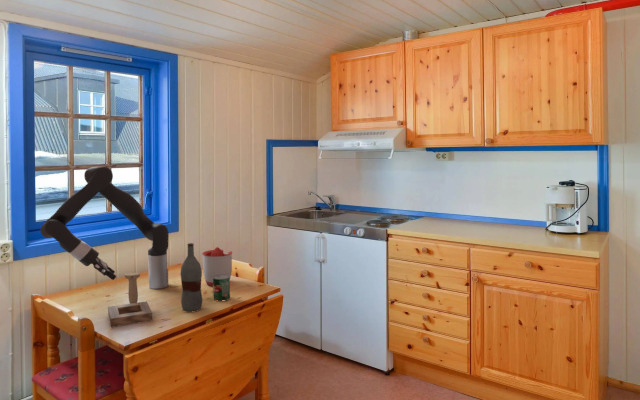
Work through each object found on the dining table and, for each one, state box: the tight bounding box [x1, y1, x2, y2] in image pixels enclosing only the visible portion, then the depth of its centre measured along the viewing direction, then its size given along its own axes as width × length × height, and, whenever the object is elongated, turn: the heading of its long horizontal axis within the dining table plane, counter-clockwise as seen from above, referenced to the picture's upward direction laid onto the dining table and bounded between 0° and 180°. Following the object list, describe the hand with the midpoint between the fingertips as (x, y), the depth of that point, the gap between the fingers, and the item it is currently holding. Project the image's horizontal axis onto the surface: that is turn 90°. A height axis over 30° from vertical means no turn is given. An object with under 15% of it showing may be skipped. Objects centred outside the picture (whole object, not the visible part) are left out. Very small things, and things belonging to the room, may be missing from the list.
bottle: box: [180, 242, 203, 313], centre depth 208 cm, size 9×9×30 cm
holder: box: [107, 301, 153, 328], centre depth 198 cm, size 16×16×4 cm
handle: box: [124, 272, 141, 304], centre depth 212 cm, size 5×6×15 cm
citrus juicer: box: [201, 246, 233, 287], centre depth 248 cm, size 16×17×20 cm
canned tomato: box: [212, 274, 231, 302], centre depth 223 cm, size 8×8×11 cm
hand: (114, 275), depth 207 cm, fingers open, 8 cm apart
